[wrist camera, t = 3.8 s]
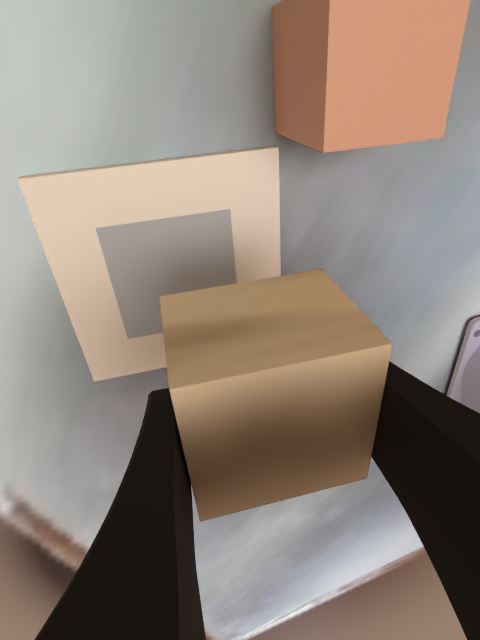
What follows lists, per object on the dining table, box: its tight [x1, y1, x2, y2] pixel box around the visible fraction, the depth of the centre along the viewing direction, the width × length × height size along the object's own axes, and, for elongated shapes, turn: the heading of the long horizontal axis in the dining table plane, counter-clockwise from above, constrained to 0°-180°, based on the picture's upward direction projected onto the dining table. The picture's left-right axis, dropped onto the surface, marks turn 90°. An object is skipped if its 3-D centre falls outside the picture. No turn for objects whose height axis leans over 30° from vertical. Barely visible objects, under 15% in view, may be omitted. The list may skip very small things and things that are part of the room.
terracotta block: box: [272, 0, 470, 153], centre depth 13 cm, size 4×4×5 cm
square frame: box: [17, 146, 281, 382], centre depth 18 cm, size 10×10×1 cm
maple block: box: [159, 269, 392, 522], centre depth 11 cm, size 5×5×4 cm
